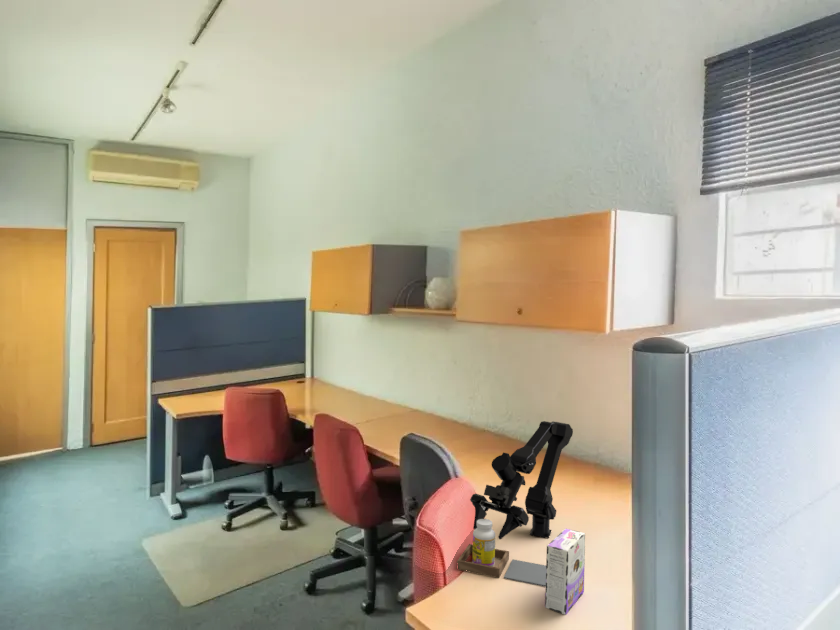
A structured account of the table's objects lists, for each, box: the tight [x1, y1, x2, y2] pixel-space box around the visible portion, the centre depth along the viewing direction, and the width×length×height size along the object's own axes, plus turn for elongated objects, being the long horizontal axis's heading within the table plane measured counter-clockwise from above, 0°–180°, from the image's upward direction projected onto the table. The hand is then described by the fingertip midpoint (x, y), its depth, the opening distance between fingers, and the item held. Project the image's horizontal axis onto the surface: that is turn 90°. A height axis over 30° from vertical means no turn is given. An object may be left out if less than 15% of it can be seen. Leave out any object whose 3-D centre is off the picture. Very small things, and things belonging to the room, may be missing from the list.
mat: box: [503, 559, 546, 588], centre depth 161 cm, size 12×12×1 cm
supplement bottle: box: [471, 518, 496, 567], centre depth 166 cm, size 7×7×13 cm
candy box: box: [544, 528, 586, 616], centre depth 147 cm, size 14×6×16 cm, turn 145°
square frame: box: [456, 543, 510, 579], centre depth 166 cm, size 13×13×2 cm
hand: (486, 533), depth 167 cm, fingers open, 9 cm apart
